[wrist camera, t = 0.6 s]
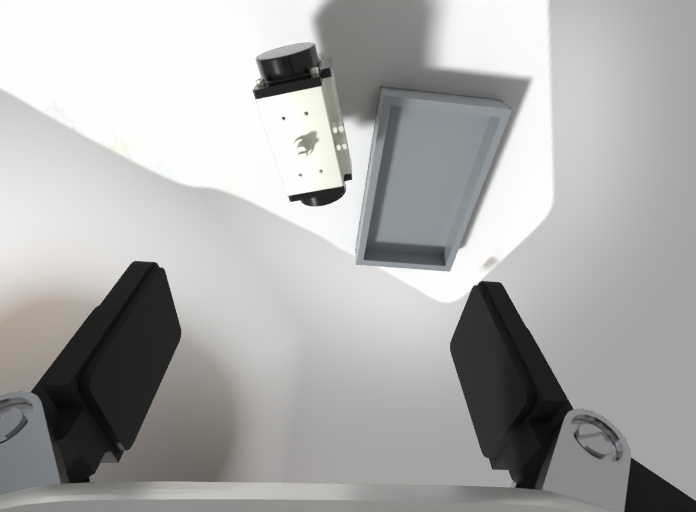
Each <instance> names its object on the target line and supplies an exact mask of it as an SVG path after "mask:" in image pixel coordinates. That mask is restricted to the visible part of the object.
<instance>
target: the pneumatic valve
mask: <svg viewBox="0 0 696 512" xmlns="http://www.w3.org/2000/svg"><path fill="white" fill-rule="evenodd" d="M256 62H257V65H258V68H259V71H260V75H261V79H258V80H256V83H257V85H256V86H255V88H254V89H253V93H254V96H255V99H256V102H257V105H258V108H259V111H260V114H261V117H262V119H263V122H264V125H265V128H266V131H267V134H268V137H269V140H270V143H271V146H272V149H273V152H274V155H275V158H276V161H277V164H278V167H279V170H280V173H281V176H282V179H283V182H284V185H285V188H286V191H287V194H288V197H289V200H290V202H293V201H298V200H300V201H301V202H302V203H303V204H305V205H308V206H323V205H327V204H330V203H333V202H335V201H337V200H338V199H340V198H341V197H342V196H343V195H344V194H345V192H346V185H345V181H347V180H352V165H351V159H350V154H349V149H348V144H347V139H346V134H345V129H344V123H343V118H342V113H341V108H340V103H339V98H338V93H337V88H336V82H335V77H334V72H333V67H332V62H331V59H326V60H324V57H323V58H321V57H320V56H318V55H317V51H316V46H315V44H314V43H298V44H293V45H288V46H284V47H280V48H277V49H273V50H270V51H267V52H265V53H263V54H261V55H259V56H257V57H256Z"/></svg>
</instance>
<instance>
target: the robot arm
mask: <svg viewBox="0 0 696 512" xmlns="http://www.w3.org/2000/svg"><path fill="white" fill-rule="evenodd" d="M180 337H181V327H180V324H179V320H178V317H177V313H176V309H175V306H174V302H173V299H172V295H171V291H170V287H169V284H168V281H167V276H166V273H165V270H164V269H163V268H160V267H159V266H158V264H157V263H155V262H142V261H134V262H132V264H131V265H130V266H129V267H128V268H127V270H126V271H125V272H124V274H123V275H122V276H121V278H120V279H119V281H118V282H117V283H116V284H115V286H114V287H113V288H112V290H111V291H110V292H109V294H108V295H107V296H106V298H105V299H104V300H103V302H102V303H101V304H100V305H99V306H98V307H96V308H95V309H94V310H93V311H92V313H91V314H90V315H89V316H88V318H87V319H86V320H85V322H84V323H83V324H82V326H81V327H80V328H79V329H78V331H77V332H76V333H75V335H74V336H73V337H72V339H71V340H70V341H69V343H68V344H67V345H66V347H65V348H64V349H63V351H62V352H61V353H60V354H59V356H58V357H57V358H56V360H55V361H54V362H53V364H52V365H51V366H50V368H49V369H48V370H47V371H46V373H45V374H44V375H43V377H42V378H41V379H40V381H39V382H38V383H37V385H36V386H35V387H34V389H33V390H32V391H31V392H24V391H19V392H12V393H7V394H4V395H1V396H0V512H696V501H695V500H693V499H692V498H690V497H689V496H688V495H686V494H684V493H683V492H682V491H680V490H679V489H677V488H676V487H674V486H673V485H671V484H670V483H668V482H667V481H665V480H664V479H662V478H661V477H659V476H658V475H656V474H655V473H653V472H652V471H650V470H649V469H647V468H646V467H644V466H643V465H641V464H640V463H638V462H637V461H635V460H634V459H632V458H631V454H630V448H629V445H628V443H627V441H626V439H625V438H624V437H623V435H622V433H621V432H620V431H619V430H618V429H617V428H616V427H615V426H614V425H613V424H612V423H611V422H610V421H608V420H607V419H606V418H604V417H603V416H601V415H599V414H596V413H595V412H593V411H589V410H585V409H573V408H572V406H571V404H570V402H569V400H568V399H567V397H566V395H565V393H564V392H563V390H562V388H561V386H560V385H559V383H558V381H557V379H556V377H555V375H554V374H553V372H552V370H551V368H550V367H549V365H548V363H547V361H546V359H545V358H544V356H543V354H542V352H541V351H540V349H539V347H538V345H537V343H536V342H535V340H534V338H533V336H532V335H531V333H530V331H529V330H528V328H527V327H526V326H525V324H524V323H523V321H522V319H521V317H520V315H519V314H518V312H517V310H516V308H515V306H514V305H513V303H512V301H511V299H510V298H509V296H508V294H507V292H506V290H505V288H504V287H503V285H502V284H501V283H499V282H487V281H486V282H485V281H481V282H480V283H479V284H478V286H477V285H475V286H473V288H472V290H471V293H470V295H469V297H468V300H467V303H466V305H465V307H464V310H463V312H462V315H461V317H460V320H459V323H458V325H457V327H456V330H455V332H454V335H453V337H452V340H451V343H450V351H451V355H452V358H453V361H454V364H455V368H456V371H457V374H458V377H459V380H460V383H461V387H462V390H463V393H464V396H465V399H466V402H467V406H468V409H469V413H470V415H471V419H472V422H473V425H474V429H475V432H476V435H477V438H478V441H479V445H480V448H481V451H482V453H483V455H484V456H485V457H487V458H489V461H490V464H491V467H492V469H498V470H499V469H500V470H509V473H510V475H511V478H512V480H513V483H512V485H511V488H504V487H479V486H443V485H442V486H440V485H389V484H329V483H327V484H326V483H325V484H323V483H253V482H252V483H250V482H248V483H247V482H246V483H245V482H95V480H94V477H93V474H94V473H95V472H96V470H97V468H98V466H99V464H100V463H119V460H120V458H121V456H122V454H123V452H124V450H129V449H130V448H131V446H132V445H133V443H134V441H135V439H136V436H137V434H138V432H139V430H140V428H141V425H142V423H143V421H144V419H145V416H146V414H147V412H148V410H149V407H150V405H151V403H152V400H153V399H154V396H155V394H156V392H157V390H158V388H159V385H160V383H161V381H162V379H163V376H164V374H165V372H166V370H167V368H168V365H169V363H170V361H171V359H172V356H173V354H174V352H175V349H176V348H177V345H178V343H179V341H180Z"/></svg>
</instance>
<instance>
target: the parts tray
mask: <svg viewBox="0 0 696 512" xmlns="http://www.w3.org/2000/svg"><path fill="white" fill-rule="evenodd" d="M511 112H512V109H511V108H510V107H509V106H507V105H506V104H505V103H504V102H503V101H502V100H496V99H487V98H478V97H469V96H460V95H452V94H443V93H434V92H425V91H416V90H407V89H398V88H390V87H380V94H379V100H378V107H377V113H376V120H375V126H374V133H373V139H372V146H371V152H370V159H369V165H368V172H367V178H366V185H365V191H364V198H363V204H362V211H361V217H360V224H359V230H358V237H357V243H356V264H357V265H369V266H383V267H397V268H410V269H424V270H438V271H450V270H451V267H452V265H453V262H454V259H455V257H456V254H457V252H458V249H459V246H460V244H461V241H462V239H463V236H464V233H465V231H466V228H467V226H468V223H469V221H470V218H471V215H472V213H473V210H474V208H475V205H476V202H477V200H478V197H479V195H480V192H481V190H482V187H483V184H484V182H485V179H486V177H487V174H488V171H489V169H490V166H491V164H492V161H493V159H494V156H495V153H496V151H497V148H498V146H499V143H500V140H501V138H502V135H503V133H504V130H505V127H506V125H507V122H508V120H509V117H510V115H511Z"/></svg>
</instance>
